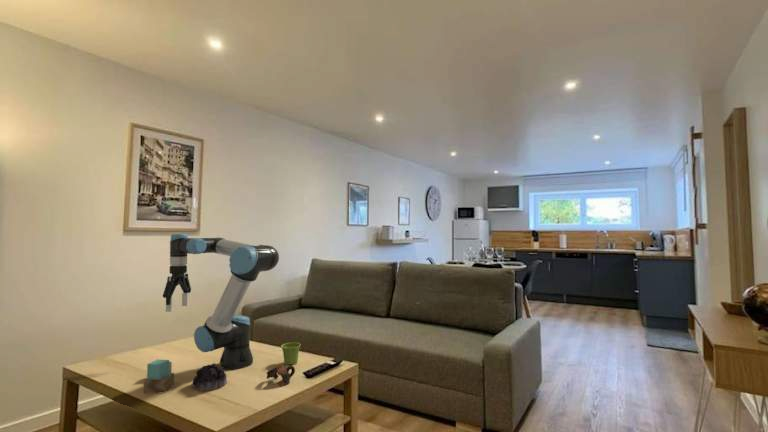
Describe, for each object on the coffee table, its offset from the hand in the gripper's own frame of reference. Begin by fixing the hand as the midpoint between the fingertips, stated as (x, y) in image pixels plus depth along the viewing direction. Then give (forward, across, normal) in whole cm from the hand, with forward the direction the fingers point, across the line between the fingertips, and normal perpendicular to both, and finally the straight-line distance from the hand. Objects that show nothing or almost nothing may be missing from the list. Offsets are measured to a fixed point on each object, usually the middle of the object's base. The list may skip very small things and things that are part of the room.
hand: (177, 308), depth 186 cm
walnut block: (+27, +29, +10) cm, 41 cm away
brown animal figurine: (+27, +21, +58) cm, 67 cm away
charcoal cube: (+27, +17, +4) cm, 32 cm away
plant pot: (+27, -3, +56) cm, 62 cm away
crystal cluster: (+27, +25, +30) cm, 47 cm away
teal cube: (+22, +29, +10) cm, 38 cm away
